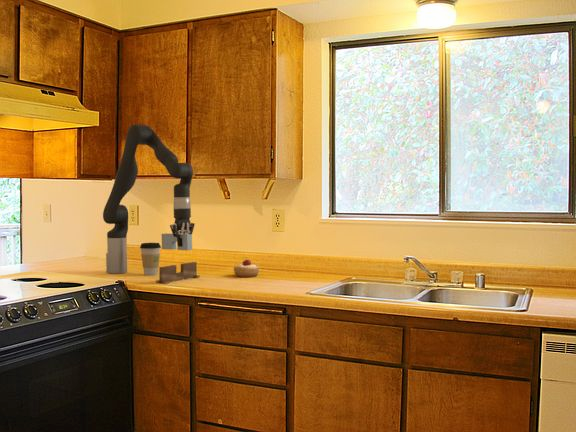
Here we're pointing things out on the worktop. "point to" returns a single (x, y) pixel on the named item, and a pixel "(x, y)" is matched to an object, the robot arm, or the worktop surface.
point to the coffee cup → (150, 258)
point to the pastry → (246, 269)
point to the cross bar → (170, 241)
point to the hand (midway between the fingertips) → (183, 245)
